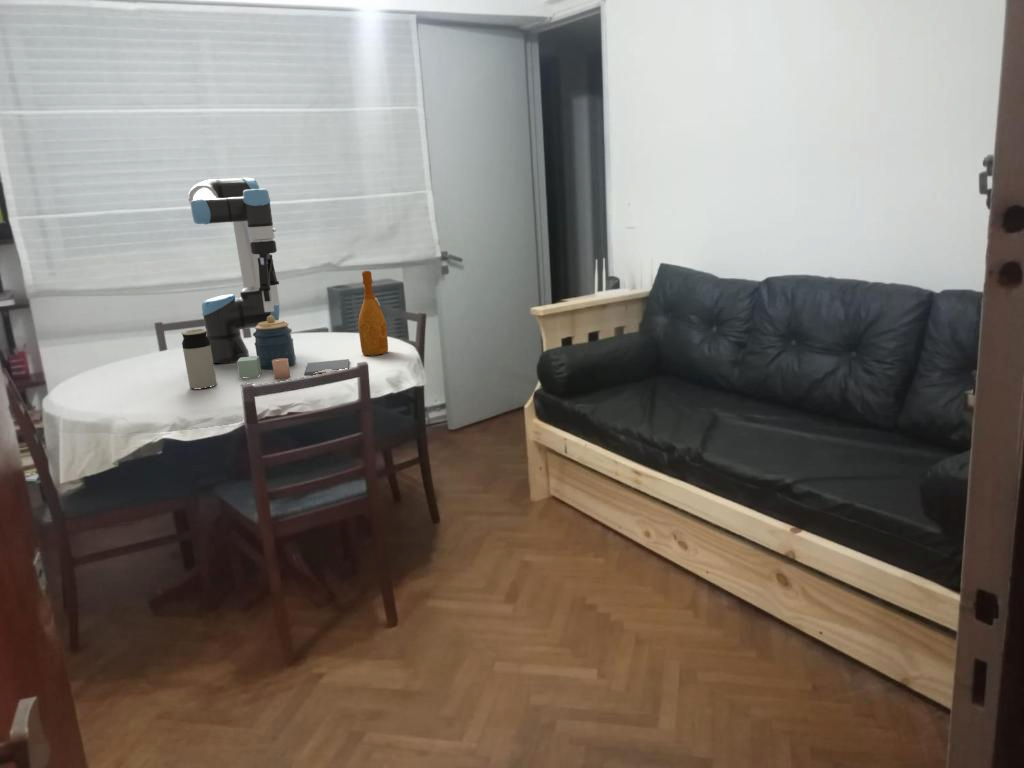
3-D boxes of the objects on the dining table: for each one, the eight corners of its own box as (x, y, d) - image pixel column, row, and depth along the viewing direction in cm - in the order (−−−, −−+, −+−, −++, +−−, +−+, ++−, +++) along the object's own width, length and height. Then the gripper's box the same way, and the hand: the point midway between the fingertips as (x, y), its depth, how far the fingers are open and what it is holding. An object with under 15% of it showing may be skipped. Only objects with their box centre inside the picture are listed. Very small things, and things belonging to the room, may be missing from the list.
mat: (308, 365, 250) (307, 362, 250) (349, 361, 252) (349, 359, 252) (304, 375, 237) (304, 372, 236) (348, 371, 239) (347, 368, 239)
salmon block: (275, 376, 238) (272, 358, 236) (291, 375, 238) (288, 357, 237) (273, 380, 233) (270, 362, 231) (289, 378, 234) (286, 360, 232)
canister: (304, 362, 256) (297, 313, 251) (275, 371, 245) (267, 319, 241) (279, 359, 263) (272, 311, 258) (250, 367, 252) (242, 318, 248)
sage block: (243, 374, 243) (240, 357, 241) (261, 373, 244) (258, 355, 242) (239, 379, 237) (237, 361, 236) (258, 377, 238) (256, 359, 237)
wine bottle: (382, 356, 257) (373, 272, 250) (356, 356, 260) (347, 272, 252) (393, 350, 267) (385, 268, 259) (369, 350, 269) (360, 269, 261)
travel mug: (222, 383, 232) (213, 328, 227) (203, 390, 225) (193, 333, 220) (203, 382, 235) (194, 328, 230) (184, 389, 228) (174, 333, 223)
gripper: (269, 242, 213) (279, 313, 218) (280, 237, 237) (288, 301, 242) (243, 243, 212) (253, 315, 217) (256, 239, 235) (265, 303, 241)
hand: (272, 308), depth 230 cm, fingers open, 13 cm apart
